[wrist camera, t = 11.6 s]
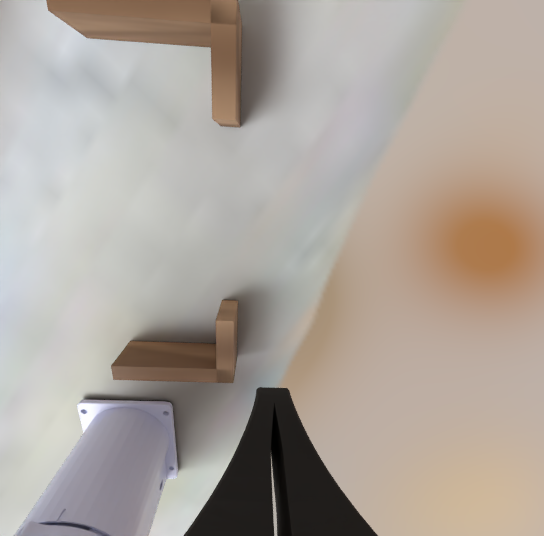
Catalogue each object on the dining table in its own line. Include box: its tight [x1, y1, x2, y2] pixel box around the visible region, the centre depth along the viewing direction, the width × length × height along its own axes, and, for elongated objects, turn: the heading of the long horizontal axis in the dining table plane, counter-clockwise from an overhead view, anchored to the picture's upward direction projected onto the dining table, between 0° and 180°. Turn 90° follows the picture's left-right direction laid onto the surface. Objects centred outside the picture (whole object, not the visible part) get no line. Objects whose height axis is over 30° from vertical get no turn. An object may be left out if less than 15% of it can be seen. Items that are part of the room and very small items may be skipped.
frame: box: [46, 0, 242, 383], centre depth 18 cm, size 22×9×3 cm, turn 177°
